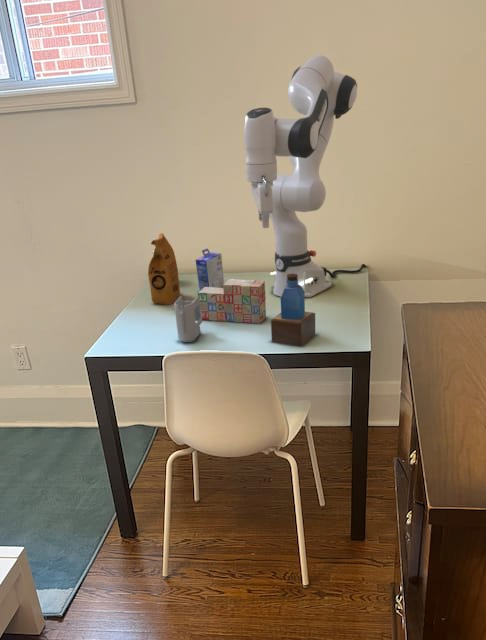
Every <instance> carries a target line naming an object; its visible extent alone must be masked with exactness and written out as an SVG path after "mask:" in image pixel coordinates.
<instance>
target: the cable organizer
mask: <svg viewBox="0 0 486 640" xmlns="http://www.w3.org/2000/svg"><path fill="white" fill-rule="evenodd" d="M173 306H174V313H175V314H174V315H175V322H176V330H177V338H178V340H179V341H181V342H183V343H190V342H191V343H192V342H194V341H196V339H197V338H198V336H199V335H200V334H201V325H202V323H203V319H202V314H201V304H200V299H199V296H198V295H197V296H196V298H194V300H184V299H183V296H182V295H180V296H179V298H178V299H176V300H175V301H174V303H173Z"/></svg>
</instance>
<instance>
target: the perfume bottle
mask: <svg viewBox="0 0 486 640" xmlns="http://www.w3.org/2000/svg"><path fill="white" fill-rule="evenodd" d="M297 276H298V275H297V274H288V275H287V279H286V281H287V284H288V285H286V287H285V289H284V292H283V294H282V296H281V297H280V313H281V319H302V318H303V315H304V313H305V311H306V305H305V304H306V303H305V301H306V300H305V299H306V297H305V292H304V290H303V288H302V287H301V285H297V283H298V278H297Z"/></svg>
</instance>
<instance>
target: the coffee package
mask: <svg viewBox="0 0 486 640" xmlns="http://www.w3.org/2000/svg"><path fill="white" fill-rule="evenodd" d="M150 244H151V245H152V246H154V247H155V248H154V250H153V251H154V254H153V253H152V257H151V259H150V261H149V264H148V270H147V271H148V272H147V275H148V282H149V288H150V297H151V301H152V303H153V304H155V305H156V304H158V305H159V304H160V305H164V304H165V305H171V304H174V303H175V302H176V301H177V299H178V298H179V297H180V296H181V289H180V281H179V269H178V264H177V259H176V255H175V251H174V249H173V247H172V245H171V243H170V242H169V241H168V239H167V238H166V236H165V234H164V233H163V232H161V233H160V234H158V238H157V239H153V240H152V241H151V242H150Z"/></svg>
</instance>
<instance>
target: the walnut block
mask: <svg viewBox="0 0 486 640" xmlns="http://www.w3.org/2000/svg"><path fill="white" fill-rule="evenodd" d="M270 330H271V332H270V333H271V343H274V344H275V343H277V344H281V345H282V344H283V345H289V346H295V347H303V346H304V345H305V344H307V343H308V342H309V341H310V340H311V339H313V338H314V337H315V336H316V312H313V311H306V310H305V313H304V315H303V318H302V319H281V312H280V313H278V314H277V315H275V316H274V317H273V318H271V319H270Z"/></svg>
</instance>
